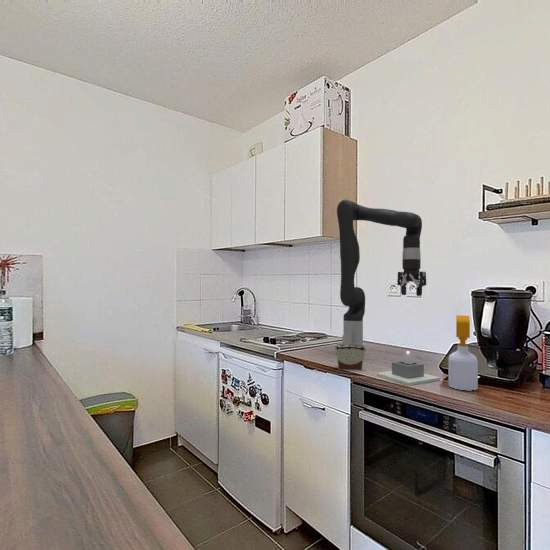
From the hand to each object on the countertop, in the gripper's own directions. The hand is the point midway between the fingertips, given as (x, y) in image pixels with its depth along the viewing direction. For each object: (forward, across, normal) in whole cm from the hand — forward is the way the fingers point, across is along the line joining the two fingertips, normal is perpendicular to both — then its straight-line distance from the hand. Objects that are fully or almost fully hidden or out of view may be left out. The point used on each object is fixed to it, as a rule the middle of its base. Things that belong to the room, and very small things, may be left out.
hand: (411, 295), depth 169 cm
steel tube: (+29, +17, -20) cm, 39 cm away
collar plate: (+30, +17, -20) cm, 40 cm away
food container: (+30, -5, -30) cm, 43 cm away
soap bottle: (+30, +35, -13) cm, 48 cm away
